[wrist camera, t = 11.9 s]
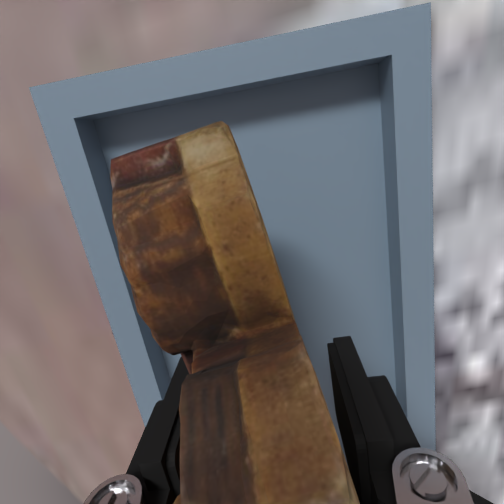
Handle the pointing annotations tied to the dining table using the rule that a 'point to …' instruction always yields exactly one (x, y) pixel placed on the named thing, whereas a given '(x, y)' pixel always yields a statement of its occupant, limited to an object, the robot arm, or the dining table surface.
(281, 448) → the wooden carving
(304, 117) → the tray
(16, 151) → the dining table surface
